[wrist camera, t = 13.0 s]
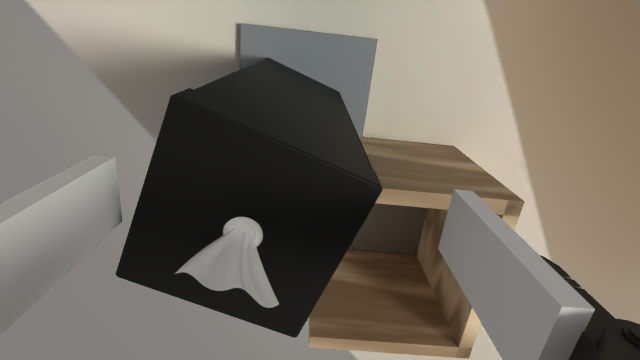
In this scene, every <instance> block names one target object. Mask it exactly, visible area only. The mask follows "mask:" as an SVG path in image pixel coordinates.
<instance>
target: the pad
mask: <svg viewBox="0 0 640 360" xmlns="http://www.w3.org/2000/svg"><path fill="white" fill-rule="evenodd" d="M376 46H377V39H371V38H362V37H353V36H345V35H336V34H327V33H319V32H310V31H301V30H293V29H284V28H275V27H267V26H258V25H249V24H241V35H240V70H241V69H243V68H245V67H248V66H250V65H252V64H255V63H257V62H259V61H261V60H264V59H266V58H271V59H273V60H275V61H277V62H279V63H281V64H283V65H285V66H287V67H289V68H291V69H293V70H295V71H297V72H300V73H302V74H304V75H306V76H308V77H310V78H312V79H314V80H316V81H318V82H320V83H322V84H324V85H326V86H328V87H330V88H333V89H335V90H337V91H339V92H340V94H341V97H342V99H343V101H344V104H345V106H346V108H347V111H348V113H349V115H350V117H351V120H352V122H353V124H354V127H355V129H356V131H357V134H358V136H359V138H362V136H363V130H364V123H365V117H366V110H367V104H368V97H369V91H370V84H371V78H372V72H373V65H374V59H375V52H376Z"/></svg>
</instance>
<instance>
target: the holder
mask: <svg viewBox="0 0 640 360" xmlns="http://www.w3.org/2000/svg"><path fill="white" fill-rule="evenodd" d="M360 140H361V143H362V145H363V147H364V150H365V152H366V154H367V157H368V159H369V161H370V163H371V166H372V168H373V170H374V171H375V172H376V174H377V176H378V179H379V181H380V183H381V185H382V189H383V190H382V192H381V194H380V196H379V197H378V199H377V201H376V202H375V203H379V204H390V205H401V206H412V207H423V208H428V210H427V214H426V218H425V222H424V226H423V230H422V234H421V238H420V242H419V246H418V250H417V255H406V254H395V253H383V252H371V251H359V250H347V252H346V254H345V256H344V257H343V259H342V261H341V262H340V264H339V266H338V268H337V269H336V271H335V273H334V274H333V276H332V278H331V280H330V281H329V283H328V285H327V286H326V288H325V290H324V292H323V293H322V295H321V297H320V298H319V300H318V302H317V304H316V305H315V307H314V309H313V310H312V312H311V314H310V315H309V347H312V348H327V349H341V350H355V351H369V352H383V353H398V354H412V355H426V356H440V357H454V358H469V356H470V353H471V350H472V347H473V345H474V342H475V339H476V336H477V333H478V331H479V328H480V325H481V321H480V320H479V318H478V316H477V315H476V313H475V311H474V309H473V308H472V306H471V304H470V303H469V301H468V299H467V297H466V296H465V294H464V292H463V291H462V289H461V287H460V285H459V284H458V282H457V280H456V279H455V277H454V275H453V273H452V272H451V270H450V268H449V267H448V265H447V263H446V261H445V260H444V258H443V256H442V254H441V253H440V251H439V249H438V247H439V243H440V239H441V236H442V232H443V228H444V224H445V220H446V217H447V213H448V209H449V205H450V202H451V198H452V194H453V190H454V189H458V190H469V191H473V192H474V193H475V194H476V195H477V196H479V197H480V198H481V199H482V200H483V201H484V202H485V203H486V204H487V205H488V206H489V207H490V208H491V209H492V210H493V211H494V212H495V213H496V214H497V215H498V216H499V217H500V218H501V219H502V220H503V221H504V222H505V223H506V224H507V225H508V226H510V227H511V228H512V229H513V230H514V229H515V227H516V224H517V221H518V218H519V215H520V212H521V210H522V207H523V204H524V201H523V200H522V199H520V198H519V197H518V196H517V195H515V194H514V193H513V192H511V191H510V190H509V189H508V188H506V187H505V186H504V185H503V184H501V183H500V182H499V181H498V180H496V179H495V178H494V177H492V176H491V175H490V174H489V173H487V172H486V171H485V170H484V169H482V168H481V167H480V166H478V165H477V164H476V163H475V162H473V161H472V160H471V159H470V158H468V157H467V156H466V155H465V154H463V153H462V152H461V151H459V150H458V149H457V148H456V147H454V146H447V145H437V144H427V143H417V142H407V141H397V140H388V139H378V138H368V137H362V138H360Z"/></svg>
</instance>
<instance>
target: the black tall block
mask: <svg viewBox="0 0 640 360" xmlns="http://www.w3.org/2000/svg"><path fill="white" fill-rule="evenodd" d="M382 190H383V189H382V185H381V183H380V181H379V179H378V176H377V174H376V172H375V171H374V170H373V168H372V166H371V163H370V161H369V159H368V157H367V154H366V152H365V150H364V147H363V145H362V143H361V140H360V138H359V136H358V134H357V131H356V129H355V127H354V124H353V122H352V120H351V117H350V115H349V113H348V111H347V108H346V106H345V104H344V101H343V99H342V97H341V94H340V92H339V91H337V90H335V89H333V88H330V87H328V86H326V85H324V84H322V83H320V82H318V81H316V80H314V79H312V78H310V77H308V76H306V75H304V74H302V73H300V72H297V71H295V70H293V69H291V68H289V67H287V66H285V65H283V64H281V63H279V62H277V61H275V60H273V59H271V58H266V59H264V60H261V61H259V62H257V63H255V64H252V65H250V66H248V67H245V68H243V69H241V70H238V71H236V72H234V73H231V74H229V75H227V76H225V77H222V78H220V79H218V80H215V81H213V82H211V83H208V84H206V85H204V86H201V87H199V88H197V89H195V90H193V89H190V88H189V89H187V90H184V91H182V92H179V93H177V94H174V95H172V96H171V97H170V100H169V104H168V107H167V110H166V113H165V117H164V120H163V123H162V126H161V129H160V133H159V136H158V139H157V142H156V146H155V149H154V152H153V155H152V158H151V162H150V165H149V168H148V171H147V175H146V178H145V181H144V184H143V187H142V191H141V194H140V197H139V201H138V204H137V207H136V210H135V213H134V216H133V220H132V223H131V226H130V229H129V233H128V236H127V239H126V242H125V245H124V249H123V252H122V255H121V259H120V262H119V265H118V268H117V271H116V275H117V277H120V278H123V279H126V280H128V281H131V282H134V283H137V284H140V285H143V286H146V287H149V288H152V289H154V290H157V291H160V292H163V293H166V294H169V295H172V296H175V297H178V298H181V299H184V300H186V301H189V302H192V303H195V304H198V305H201V306H204V307H207V308H210V309H213V310H215V311H218V312H221V313H224V314H227V315H230V316H233V317H236V318H239V319H242V320H244V321H247V322H250V323H253V324H256V325H259V326H262V327H265V328H268V329H271V330H273V331H276V332H279V333H282V334H285V335H288V336H291V337H294V338H295V337H297V336H298V334H299V333H300V331H301V329H302V327H303V325H304V324H305V322H306V321H307V319H308V317H309V315H310V314H311V312H312V310H313V309H314V307H315V305H316V304H317V302H318V300H319V298H320V297H321V295H322V293H323V292H324V290H325V288H326V286H327V285H328V283H329V281H330V280H331V278H332V276H333V274H334V273H335V271H336V269H337V268H338V266H339V264H340V262H341V261H342V259H343V257H344V256H345V254H346V252H347V250H348V249H349V247H350V245H351V244H352V242H353V240H354V238H355V237H356V235H357V233H358V232H359V230H360V228H361V226H362V225H363V223H364V221H365V220H366V218H367V216H368V214H369V213H370V211H371V209H372V208H373V206H374V204H375V202H376V201H377V199H378V197H379V196H380V194H381V192H382Z"/></svg>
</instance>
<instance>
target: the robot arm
mask: <svg viewBox="0 0 640 360" xmlns="http://www.w3.org/2000/svg"><path fill="white" fill-rule="evenodd" d="M121 222H122V215H121V206H120V197H119V188H118V179H117V170H116V162H115V157H113V156H102V155H93V156H91V157H89V158H87V159H85V160H83V161H81V162H79V163H77V164H75V165H73V166H72V167H70V168H68V169H66V170H64V171H62V172H60V173H58V174H56V175H54V176H52V177H50V178H48V179H47V180H45V181H43V182H41V183H39V184H37V185H35V186H33V187H31V188H29V189H27V190H25V191H23V192H21V193H20V194H18V195H16V196H14V197H12V198H10V199H8V200H6V201H4V202H2V203H0V335H1V334H2V333H3V332H4V331H5V330H6V329H7V328H8V327H10V325H12V323H14V322H15V321H16V320H17V319H18V318H19V317H20V316H21V315H22V314H23V313H24V312H26V310H28V309H29V308H30V307H31V306H32V305H33V304H34V303H35V302H36V301H37V300H38V299H39V298H40V297H41V296H43V295H44V294H45V293H46V292H47V291H48V290H49V289H50V288H51V287H52V286H53V285H54V284H55V283H57V281H59V280H60V279H61V278H62V277H63V276H64V275H65V274H66V273H67V272H68V271H69V270H70V269H71V268H73V267H74V266H75V265H76V264H77V263H78V262H79V261H80V260H81V259H82V258H83V257H84V256H85V255H86V254H87V253H88V252H90V251H91V250H92V249H93V248H94V247H95V246H96V245H97V244H98V243H99V242H100V241H101V240H102V239H103V238H105V236H107V235H108V234H109V233H110V232H111V231H112V230H113V229H114V228H115V227H116V226H117V225H118V224H120V223H121ZM438 249H439V251H440V253H441V254H442V256H443V258H444V260H445V261H446V263H447V265H448V267H449V268H450V270H451V272H452V273H453V275H454V277H455V279H456V280H457V282H458V284H459V285H460V287H461V289H462V291H463V292H464V294H465V296H466V297H467V299H468V301H469V303H470V304H471V306H472V308H473V309H474V311H475V313H476V315H477V316H478V318H479V320H480V321H481V323H482V325H483V327H484V328H485V330H486V332H487V333H488V335H489V337H490V339H491V340H492V342H493V344H494V345H495V347H496V349H497V351H498V352H499V354H500V356H501V357H502V359H503V360H640V324H637V323H634V322H631V321H627V320H622V319H615V318H614V317H613V316H612V315H611V314H610V313H609V312H608V311H607V310H606V309H604V308H603V307H602V306H601V305H600V304H599V303H598V302H597V301H596V300H595V299H594V298H593V297H592V296H591V295H589V294H588V293H587V292H586V291H585V290H584V289H581V286H580V285H579V284H578V283H577V282H576V281H574V280H571V277H570V276H569V275H568V274H567V273H566V272H565V271H564V270H563V269H562V268H560V266H558V265H556V264H555V263H553V262H552V261H550V260H548V259H547V258H545V257H543V256H540V255H538V254H537V253H536V252H535V251H534V250H533V249H532V248H531V247H530V246H529V245H528V244H527V243H526V242H525V241H524V240H523V239H522V238H521V237H520V236H519V235H518V234H517V233H516V232H515V231H514V230H513V229H512V228H511V227H510V226H508V225H507V224H506V223H505V222H504V221H503V220H502V219H501V218H500V217H499V216H498V215H497V214H496V213H495V212H494V211H493V210H492V209H491V208H490V207H489V206H488V205H487V204H486V203H485V202H484V201H483V200H482V199H481V198H480V197H479V196H477V195H476V194H475V193H474V192H473V191H469V190H458V189H454V190H453V194H452V198H451V202H450V205H449V209H448V213H447V217H446V220H445V224H444V228H443V232H442V236H441V239H440V243H439V247H438Z"/></svg>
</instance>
